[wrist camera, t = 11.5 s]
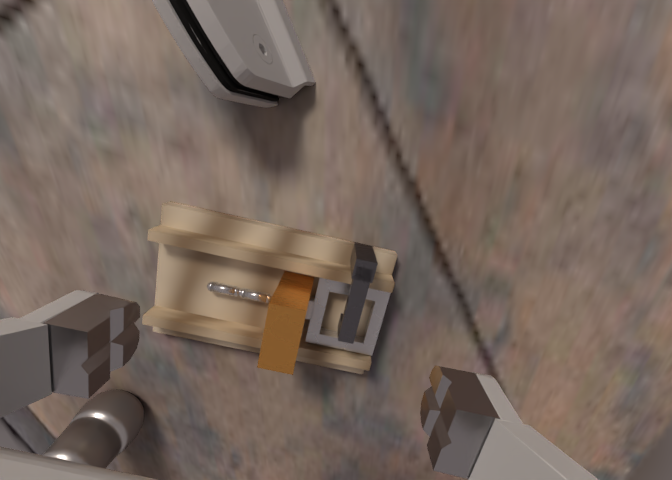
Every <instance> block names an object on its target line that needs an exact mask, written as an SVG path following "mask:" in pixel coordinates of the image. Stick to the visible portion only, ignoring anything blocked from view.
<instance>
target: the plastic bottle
mask: <svg viewBox="0 0 672 480" xmlns="http://www.w3.org/2000/svg"><path fill="white" fill-rule="evenodd" d="M143 422H144V409H143V406H142V404H141V402H140V401H139V400H138V398H136V397H135V396H134V395H133V394H131V393H129V392H127V391H123V390H117V389H116V390H109V391H105V392H101V393H100V394H98V395H96V396H95V397H93V398H92V399H91V400H89V401H88V402H87V403H85V404H84V405H83V407H82V408H81V409H80V410H79V412H78V413H77V414H76V415H75V417H74V418H73V420H72V421H71V423H70V424H69V426H68V427H67V428H66V429H65V430H64V431H63V432H62V433H61V435H60V436H59V437H58V438H57V439H56V440H55V441H54V443H53V444H52V445H51V446H50V447H49V448H48V449H47V450H46V452H45V453H44V454H43V456H48V457H53V458H57V459H62V460H67V461H72V462H77V463H82V464H86V465H91V466H96V467H101V468H107V466H108V465H109V464H110V463H111V462H112V461H113V460H114V458H115V457H116V456H117V455H118V454H120V453H121V452H122V451H123V450H124V449H125V448H126V447H127V446H128V445H129V444H130V443H131V442H132V441H133V440H134V439H135V437H136V436H137V434H138V432H139V430H140V428H141V426H142V424H143Z"/></svg>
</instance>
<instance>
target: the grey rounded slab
mask: <svg viewBox="0 0 672 480" xmlns="http://www.w3.org/2000/svg"><path fill="white" fill-rule="evenodd" d="M152 1H153V3H154V5H155V7H156V9H157V11H158V12H159V14H160V16H161V18H162V19H163V21H164V23H165V25H166V26H167V28H168V30H169V31H170V33H171V35H172V36H173V38H174V40H175V41H176V43H177V45H178V46H179V48H180V49H181V51H182V52H183V54H184V56H185V57H186V59H187V60H188V61H189V63H190V64H191V66H192V67H193V69H194V70H195V72H196V73H197V74H198V76H199V77H200V79H201V80H202V81H203V83H204V84H205V85H206V87H207V88H208V89H209V91H210V92H211V93H212V94H213V95H214V96H215V97H217V98H219V99H223V100H228V101H233V102H238V103H243V104H248V105H254V106H259V107H264V108H269V107H274V106H277V105H278V103H277V101H278V100H279V98H278V96H280V97H286V98H291V97H292V96H293V95H295V94H296V93H297V92H298V91H299V90H300V89H301V88H303V87H304V86H305V85H306V86H312V85H313V84H315V83H316V82H315V79H314V77H313V74H312V72H311V69H310V67H309V64H308V62H307V59H306V57H305V54H304V52H303V49H302V47H301V44H300V42H299V39H298V37H297V34H296V32H295V29H294V27H293V24H292V22H291V19H290V17H289V14H288V12H287V10H286V7H285V5H284V2H283V0H152Z"/></svg>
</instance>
